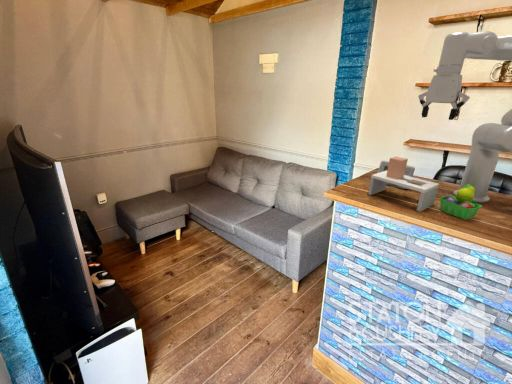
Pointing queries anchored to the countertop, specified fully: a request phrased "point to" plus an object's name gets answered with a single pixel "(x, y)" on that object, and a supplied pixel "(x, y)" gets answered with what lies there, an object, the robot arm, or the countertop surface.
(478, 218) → the countertop surface
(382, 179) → the keyhole board
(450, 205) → the fruit basket
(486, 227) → the countertop surface
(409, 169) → the digital clock
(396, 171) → the peg
